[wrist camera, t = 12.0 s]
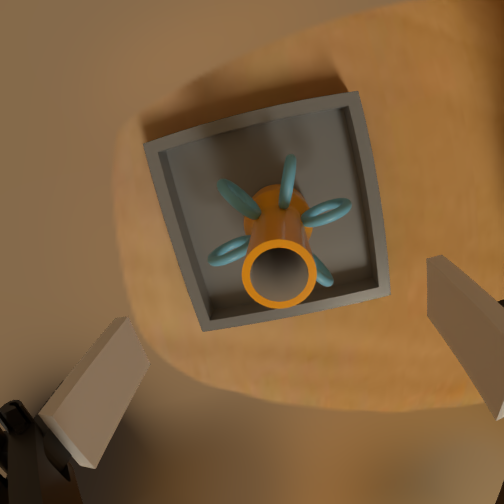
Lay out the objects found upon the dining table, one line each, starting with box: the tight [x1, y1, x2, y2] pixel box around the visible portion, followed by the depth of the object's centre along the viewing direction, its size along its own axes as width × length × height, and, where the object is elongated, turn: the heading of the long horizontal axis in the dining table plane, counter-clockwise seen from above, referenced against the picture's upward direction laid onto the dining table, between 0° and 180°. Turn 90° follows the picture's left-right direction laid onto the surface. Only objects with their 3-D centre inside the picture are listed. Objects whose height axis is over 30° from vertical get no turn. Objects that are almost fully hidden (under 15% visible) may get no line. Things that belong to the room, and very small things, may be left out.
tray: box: [143, 91, 391, 332], centre depth 31 cm, size 20×20×3 cm
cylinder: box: [207, 154, 352, 309], centre depth 24 cm, size 12×10×15 cm
